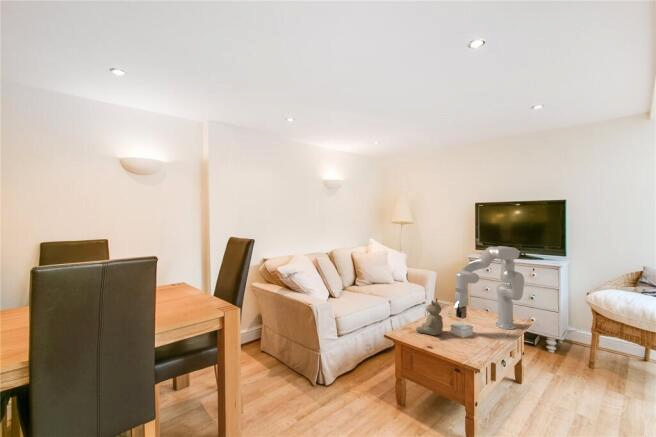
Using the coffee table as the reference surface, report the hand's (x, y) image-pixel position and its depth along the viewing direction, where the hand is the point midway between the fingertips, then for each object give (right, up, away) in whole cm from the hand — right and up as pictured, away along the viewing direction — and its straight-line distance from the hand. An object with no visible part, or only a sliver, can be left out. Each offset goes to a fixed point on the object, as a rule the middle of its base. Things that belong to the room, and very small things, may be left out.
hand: (461, 315), depth 211 cm
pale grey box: (0, -13, 0) cm, 13 cm away
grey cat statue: (-21, -14, +3) cm, 25 cm away
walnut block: (0, -1, 0) cm, 1 cm away
